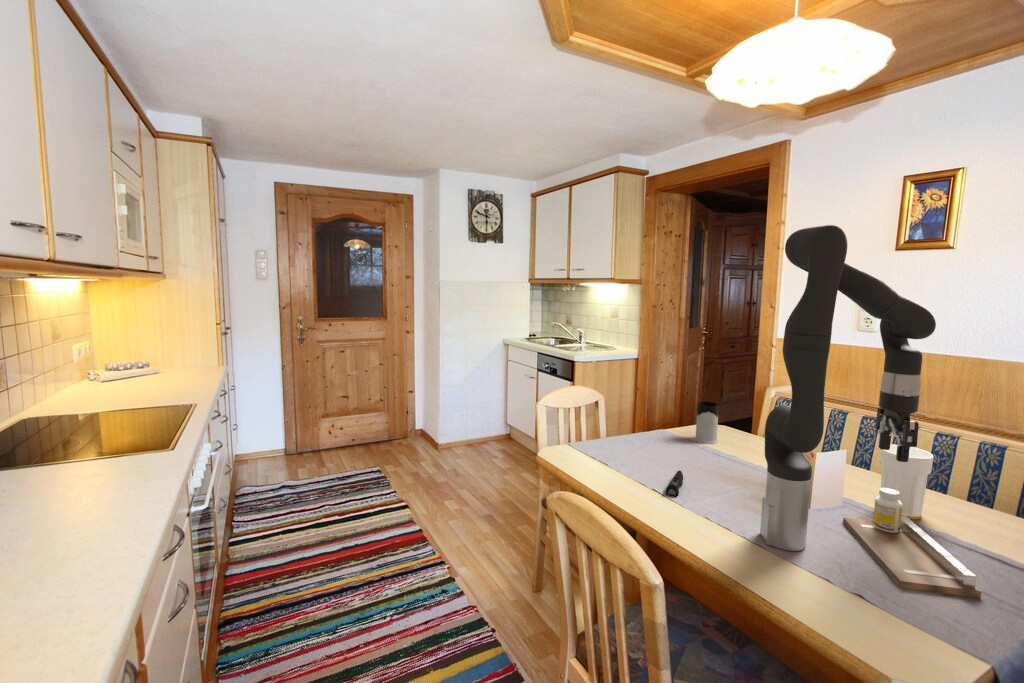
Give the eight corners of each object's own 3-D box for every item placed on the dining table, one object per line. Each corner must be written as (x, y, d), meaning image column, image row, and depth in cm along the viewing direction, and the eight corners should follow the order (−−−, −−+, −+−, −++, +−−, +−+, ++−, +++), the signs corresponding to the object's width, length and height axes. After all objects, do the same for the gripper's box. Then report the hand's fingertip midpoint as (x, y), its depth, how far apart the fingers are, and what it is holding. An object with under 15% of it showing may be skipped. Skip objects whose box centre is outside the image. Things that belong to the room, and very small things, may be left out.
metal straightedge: (963, 586, 98) (964, 574, 98) (896, 524, 123) (897, 515, 123) (975, 587, 98) (976, 576, 98) (905, 525, 123) (906, 516, 123)
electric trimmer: (685, 480, 155) (686, 470, 155) (677, 498, 142) (678, 488, 141) (673, 478, 157) (674, 468, 157) (664, 496, 143) (665, 485, 143)
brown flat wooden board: (899, 587, 100) (900, 580, 100) (842, 522, 127) (843, 517, 127) (980, 598, 97) (981, 590, 97) (904, 529, 124) (905, 523, 124)
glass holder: (694, 442, 191) (696, 405, 189) (693, 432, 204) (695, 397, 202) (718, 445, 188) (721, 407, 186) (715, 434, 201) (717, 399, 199)
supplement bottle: (887, 522, 124) (891, 486, 123) (905, 533, 119) (909, 495, 118) (867, 522, 124) (870, 486, 123) (884, 533, 119) (888, 495, 117)
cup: (878, 515, 131) (885, 454, 129) (870, 499, 141) (876, 441, 139) (932, 525, 126) (939, 461, 124) (920, 507, 136) (926, 448, 134)
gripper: (868, 384, 125) (862, 444, 127) (897, 396, 111) (889, 464, 113) (901, 385, 123) (895, 447, 125) (935, 398, 110) (927, 467, 112)
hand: (892, 455), depth 119 cm, fingers open, 8 cm apart
